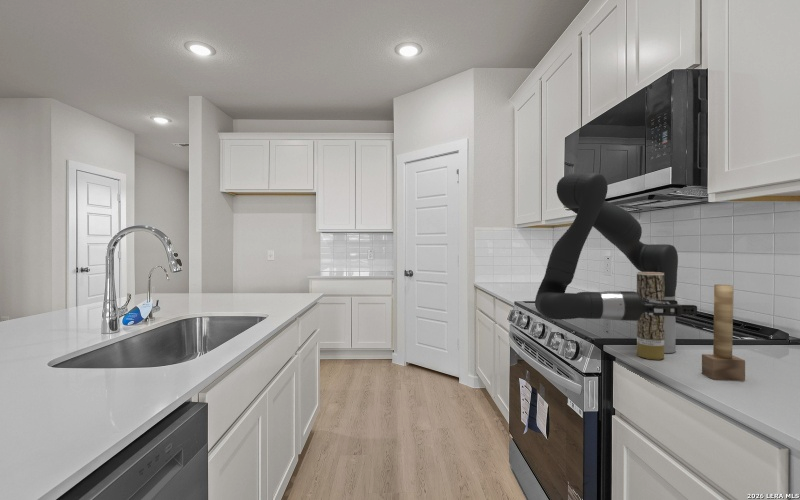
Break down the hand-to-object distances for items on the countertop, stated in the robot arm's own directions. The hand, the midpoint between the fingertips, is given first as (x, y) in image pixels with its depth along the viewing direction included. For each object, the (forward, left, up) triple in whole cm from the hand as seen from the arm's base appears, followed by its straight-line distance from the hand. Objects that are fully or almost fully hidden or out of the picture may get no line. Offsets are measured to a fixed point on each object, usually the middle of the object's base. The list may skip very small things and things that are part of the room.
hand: (686, 306), depth 96 cm
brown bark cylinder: (-16, -1, -18) cm, 24 cm away
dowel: (0, +8, -12) cm, 15 cm away
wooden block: (0, +8, -17) cm, 19 cm away
